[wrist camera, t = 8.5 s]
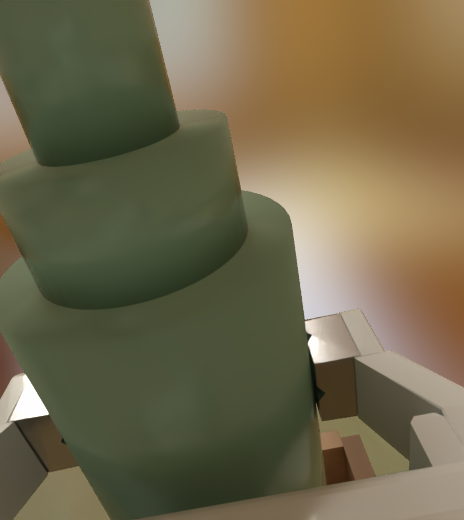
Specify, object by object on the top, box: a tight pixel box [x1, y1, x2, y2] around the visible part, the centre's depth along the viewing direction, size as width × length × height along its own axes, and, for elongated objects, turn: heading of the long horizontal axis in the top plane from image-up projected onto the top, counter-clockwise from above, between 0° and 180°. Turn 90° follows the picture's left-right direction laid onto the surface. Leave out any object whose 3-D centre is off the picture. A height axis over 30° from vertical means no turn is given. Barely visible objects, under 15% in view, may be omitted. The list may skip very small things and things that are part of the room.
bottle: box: [0, 0, 327, 520], centre depth 9 cm, size 6×6×18 cm
